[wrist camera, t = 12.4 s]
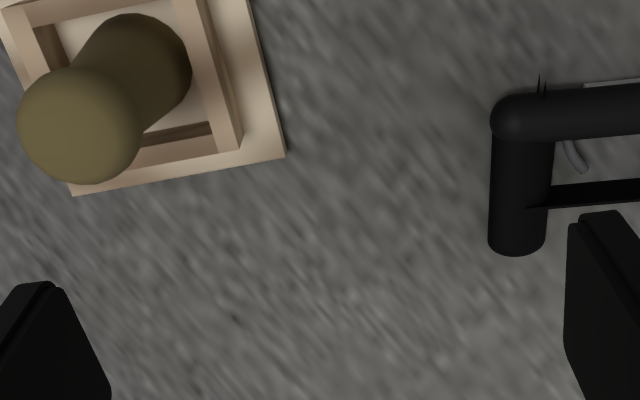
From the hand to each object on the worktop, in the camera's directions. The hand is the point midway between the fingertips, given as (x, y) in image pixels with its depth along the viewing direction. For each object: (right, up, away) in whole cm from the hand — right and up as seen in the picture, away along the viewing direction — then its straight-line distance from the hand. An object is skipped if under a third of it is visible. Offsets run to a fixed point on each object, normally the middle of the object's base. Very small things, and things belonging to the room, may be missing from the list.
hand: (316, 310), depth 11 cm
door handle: (+21, +4, +28) cm, 35 cm away
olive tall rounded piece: (-10, +10, +23) cm, 27 cm away
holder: (-10, +10, +24) cm, 28 cm away
